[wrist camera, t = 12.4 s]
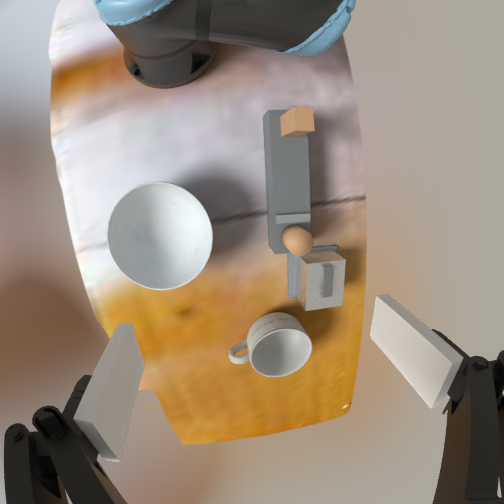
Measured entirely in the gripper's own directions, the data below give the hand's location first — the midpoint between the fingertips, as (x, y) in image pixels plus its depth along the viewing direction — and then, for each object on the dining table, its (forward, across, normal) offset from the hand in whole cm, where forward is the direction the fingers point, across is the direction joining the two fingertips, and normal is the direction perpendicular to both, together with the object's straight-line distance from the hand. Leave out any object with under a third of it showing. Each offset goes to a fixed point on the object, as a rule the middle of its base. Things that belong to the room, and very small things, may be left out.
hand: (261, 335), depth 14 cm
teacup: (+32, +5, -21) cm, 39 cm away
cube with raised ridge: (+31, +14, -10) cm, 36 cm away
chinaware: (+32, -10, 0) cm, 33 cm away
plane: (+32, +9, +6) cm, 33 cm away
